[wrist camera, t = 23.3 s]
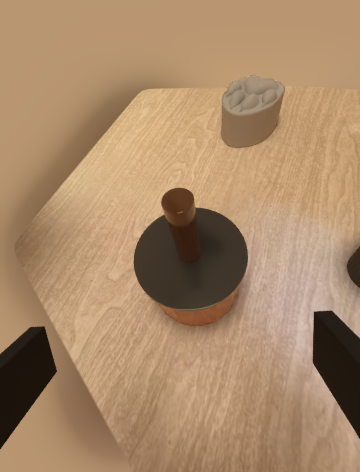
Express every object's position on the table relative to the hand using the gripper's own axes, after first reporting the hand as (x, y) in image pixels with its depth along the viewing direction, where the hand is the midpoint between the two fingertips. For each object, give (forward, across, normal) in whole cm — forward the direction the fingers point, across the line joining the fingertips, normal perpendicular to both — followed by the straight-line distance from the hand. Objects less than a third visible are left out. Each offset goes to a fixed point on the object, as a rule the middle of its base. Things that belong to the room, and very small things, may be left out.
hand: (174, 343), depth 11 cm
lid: (+15, 0, -1) cm, 15 cm away
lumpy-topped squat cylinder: (+47, +13, +17) cm, 51 cm away
